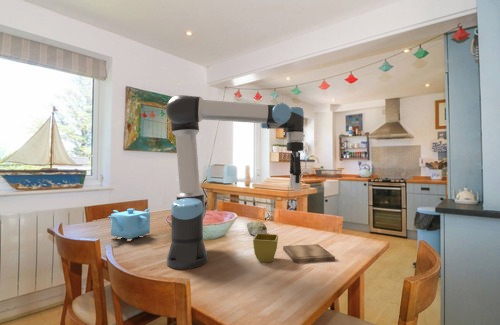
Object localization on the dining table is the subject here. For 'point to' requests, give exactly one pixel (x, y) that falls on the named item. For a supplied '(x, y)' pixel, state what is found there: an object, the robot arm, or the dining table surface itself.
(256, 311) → the dining table surface
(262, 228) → the grey rounded lump
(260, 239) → the flower pot
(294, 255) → the plate
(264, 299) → the dining table surface
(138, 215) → the teakettle
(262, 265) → the dining table surface
